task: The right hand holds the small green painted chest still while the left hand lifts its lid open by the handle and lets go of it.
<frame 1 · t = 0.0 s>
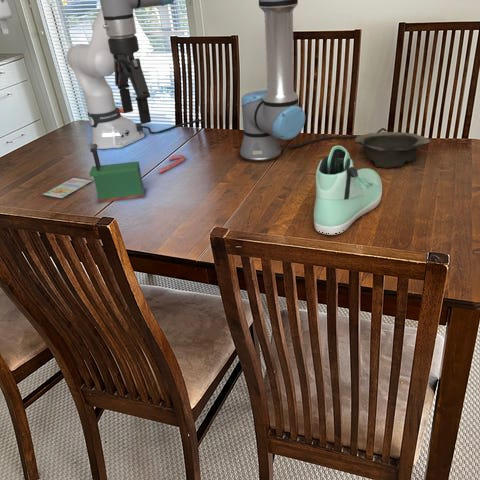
left hand: (0, 32, 160), 48 cm above the table, tool pointing down, fingers open, 8 cm apart
right hand: (136, 117, 135), 28 cm above the table, tool pointing down, fingers open, 13 cm apart
lid: (112, 157, 150), point 14 cm above the table, hinge at 0.0°
candy cane: (170, 166, 176), on the table
sneaker: (348, 208, 139), on the table
stone bowl: (388, 159, 168), on the table
chest: (122, 195, 157), on the table
baking ingredient package: (68, 188, 165), on the table
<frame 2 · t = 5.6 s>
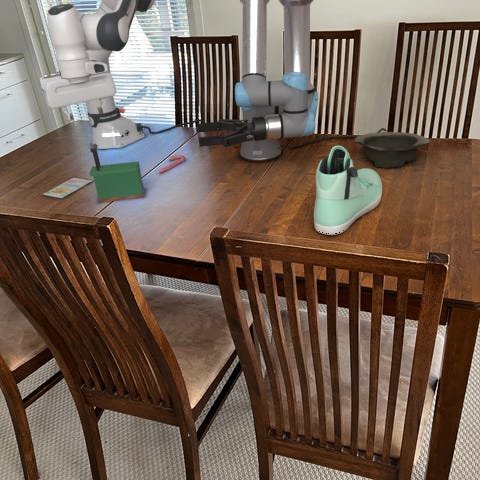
left hand: (86, 116, 143), 27 cm above the table, tool pointing down, fingers open, 8 cm apart
right hand: (198, 134, 150), 18 cm above the table, tool horizontal, fingers open, 13 cm apart
nothing on the table moved.
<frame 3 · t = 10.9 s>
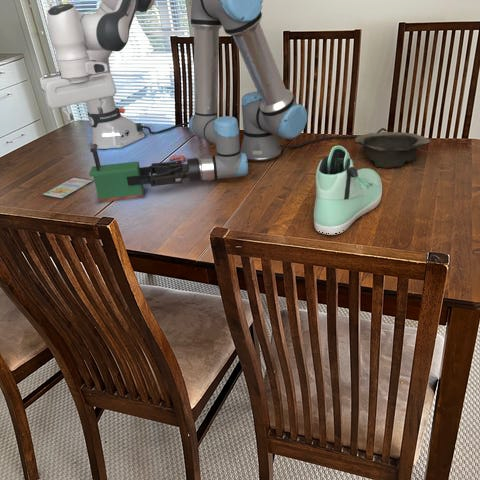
left hand: (86, 116, 143), 27 cm above the table, tool pointing down, fingers open, 8 cm apart
right hand: (128, 177, 154), 6 cm above the table, tool horizontal, fingers closed on chest, 6 cm apart
chest: (122, 195, 157), on the table, touching right hand
everything else where it was.
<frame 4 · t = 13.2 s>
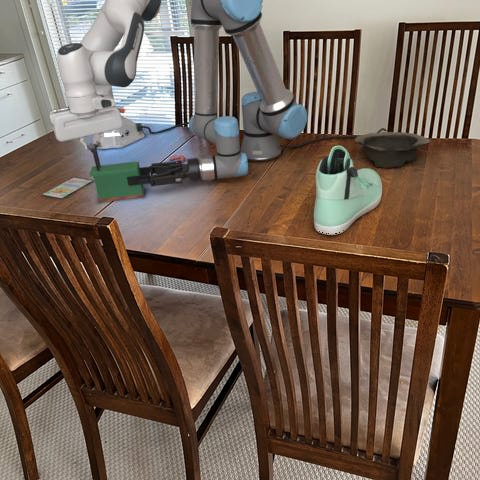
left hand: (94, 148, 148), 17 cm above the table, tool pointing down, fingers closed on lid, 2 cm apart
right hand: (128, 177, 154), 6 cm above the table, tool horizontal, fingers closed on chest, 6 cm apart
lid: (112, 157, 150), point 14 cm above the table, hinge at -0.1°, touching left hand
chest: (122, 195, 157), on the table, touching right hand
everything else where it was.
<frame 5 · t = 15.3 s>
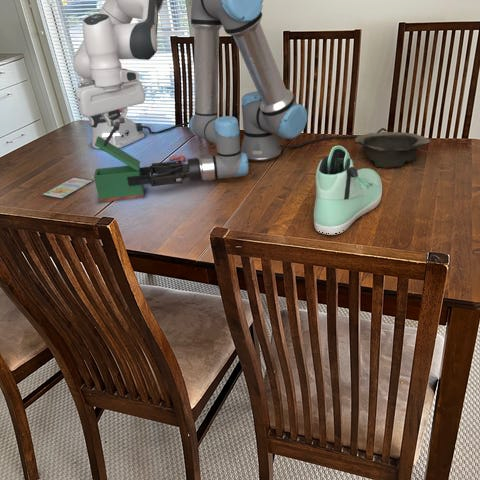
left hand: (116, 124, 145), 24 cm above the table, tool pointing down, fingers closed on lid, 3 cm apart
right hand: (129, 177, 154), 6 cm above the table, tool horizontal, fingers closed on chest, 6 cm apart
lid: (124, 144, 148), point 18 cm above the table, hinge at 40.9°, touching left hand
chest: (122, 195, 157), on the table, touching right hand
everything else where it was.
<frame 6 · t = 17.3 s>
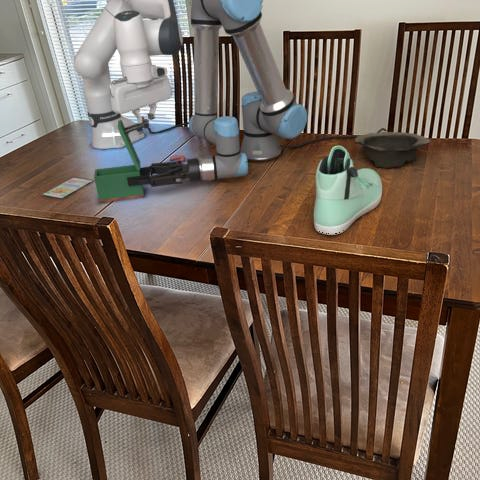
left hand: (146, 121, 145), 24 cm above the table, tool pointing down, fingers closed on lid, 3 cm apart
right hand: (128, 177, 154), 6 cm above the table, tool horizontal, fingers closed on chest, 6 cm apart
lid: (141, 141, 148), point 18 cm above the table, hinge at 77.0°, touching left hand
chest: (122, 195, 157), on the table, touching right hand
everything else where it was.
when the right hand's fingers open (6 cm above the table, at t = 20.7 s): chest stays where it is, on the table.
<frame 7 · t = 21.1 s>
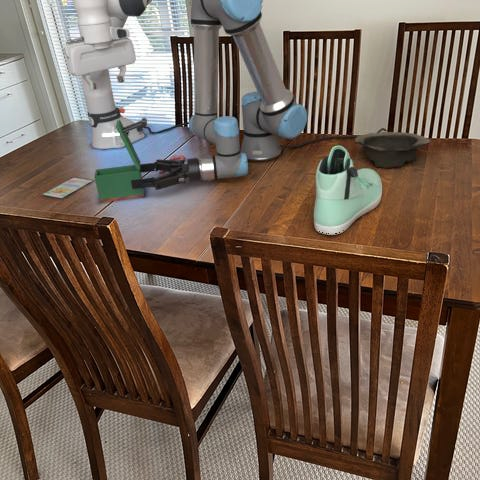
left hand: (107, 85, 139), 35 cm above the table, tool pointing down, fingers open, 8 cm apart
right hand: (133, 176, 154), 6 cm above the table, tool horizontal, fingers open, 12 cm apart
lid: (140, 140, 149), point 18 cm above the table, hinge at 75.2°
chest: (122, 195, 157), on the table
everything else where it was.
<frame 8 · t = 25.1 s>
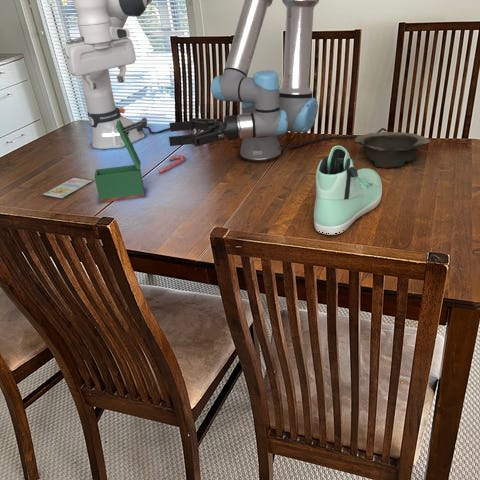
left hand: (107, 85, 139), 35 cm above the table, tool pointing down, fingers open, 8 cm apart
right hand: (169, 134, 148), 19 cm above the table, tool horizontal, fingers open, 13 cm apart
nothing on the table moved.
at the end: lid at +75° (first picture: +0°); the left hand is holding nothing; the right hand is holding nothing; chest tilted 0°; chest never tilted more than 4° during the clip; chest moved 0.2 cm from its start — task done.
